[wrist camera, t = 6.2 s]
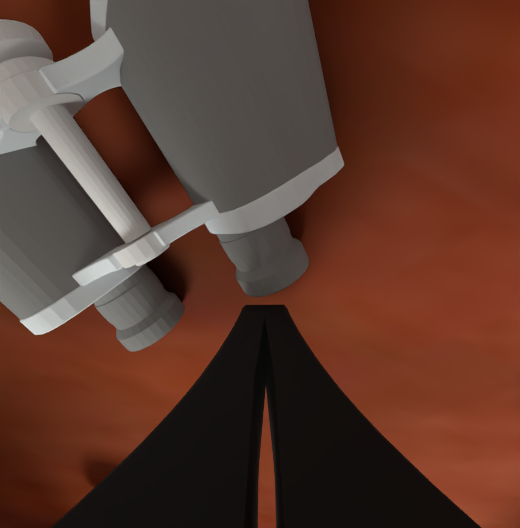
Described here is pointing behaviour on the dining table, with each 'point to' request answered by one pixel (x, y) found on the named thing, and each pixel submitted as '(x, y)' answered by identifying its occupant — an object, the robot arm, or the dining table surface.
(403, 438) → the dining table surface
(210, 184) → the binoculars
